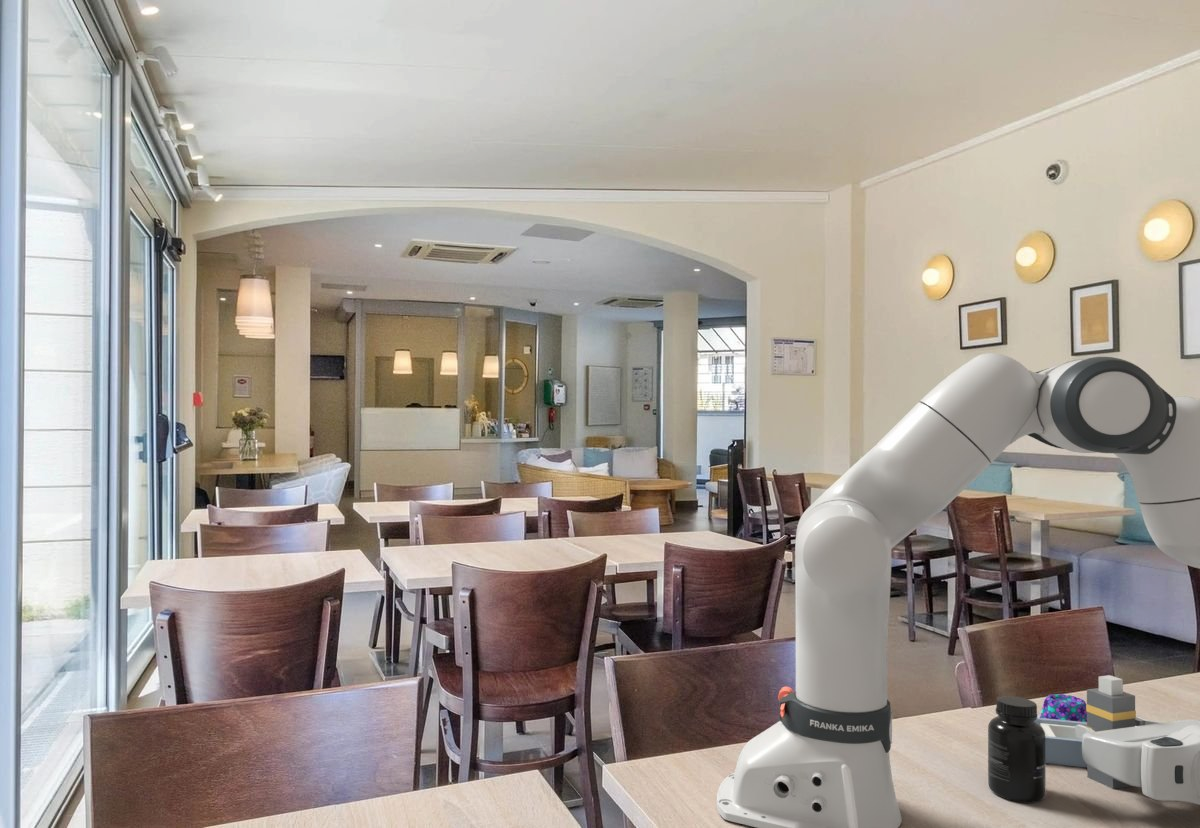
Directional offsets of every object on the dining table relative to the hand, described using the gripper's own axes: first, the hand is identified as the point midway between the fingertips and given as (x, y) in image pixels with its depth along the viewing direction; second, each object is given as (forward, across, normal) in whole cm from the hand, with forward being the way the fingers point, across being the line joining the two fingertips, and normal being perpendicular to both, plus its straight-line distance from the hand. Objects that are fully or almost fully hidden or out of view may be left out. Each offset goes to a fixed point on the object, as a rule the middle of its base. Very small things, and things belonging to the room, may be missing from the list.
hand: (1106, 726), depth 115 cm
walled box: (+9, -1, +7) cm, 12 cm away
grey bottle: (-1, 0, +7) cm, 7 cm away
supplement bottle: (0, +15, +7) cm, 17 cm away
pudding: (+16, -10, +8) cm, 21 cm away
